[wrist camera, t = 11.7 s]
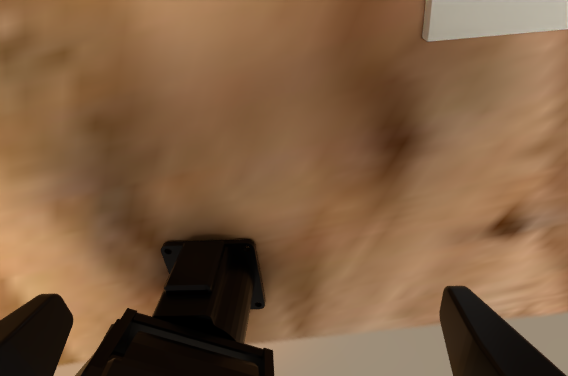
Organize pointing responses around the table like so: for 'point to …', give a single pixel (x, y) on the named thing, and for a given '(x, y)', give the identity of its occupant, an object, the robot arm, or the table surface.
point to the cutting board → (491, 18)
